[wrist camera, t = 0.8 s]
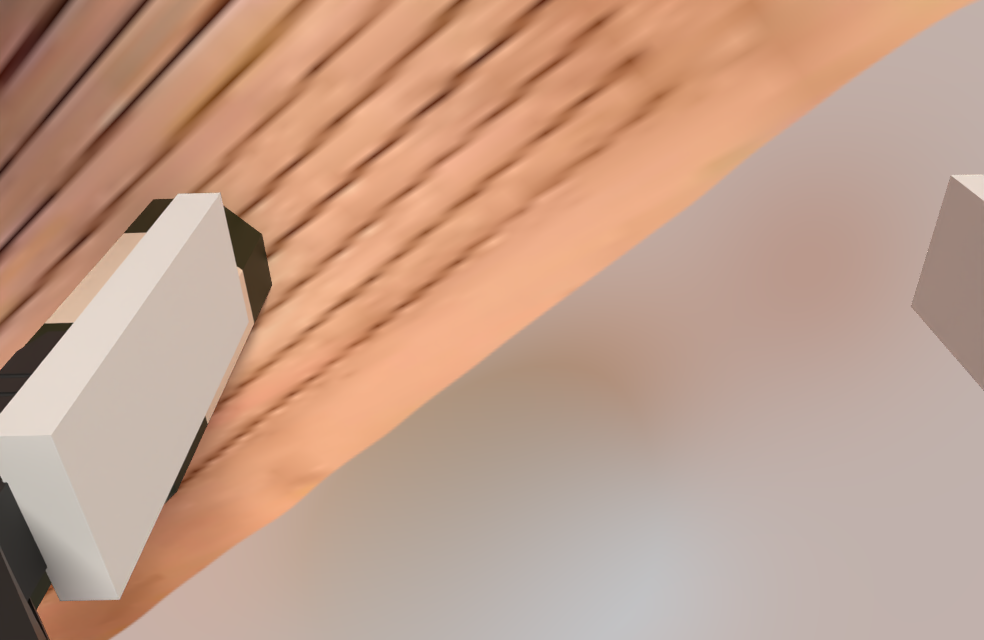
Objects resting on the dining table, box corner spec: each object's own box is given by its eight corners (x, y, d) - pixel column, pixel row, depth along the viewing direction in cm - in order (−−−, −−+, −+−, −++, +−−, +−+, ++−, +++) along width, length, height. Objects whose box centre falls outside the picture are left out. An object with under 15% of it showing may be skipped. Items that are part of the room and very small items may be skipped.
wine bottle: (301, 293, 46) (74, 876, 21) (182, 343, 48) (-163, 936, 22) (218, 169, 42) (-192, 703, 17) (91, 228, 44) (-457, 792, 18)
